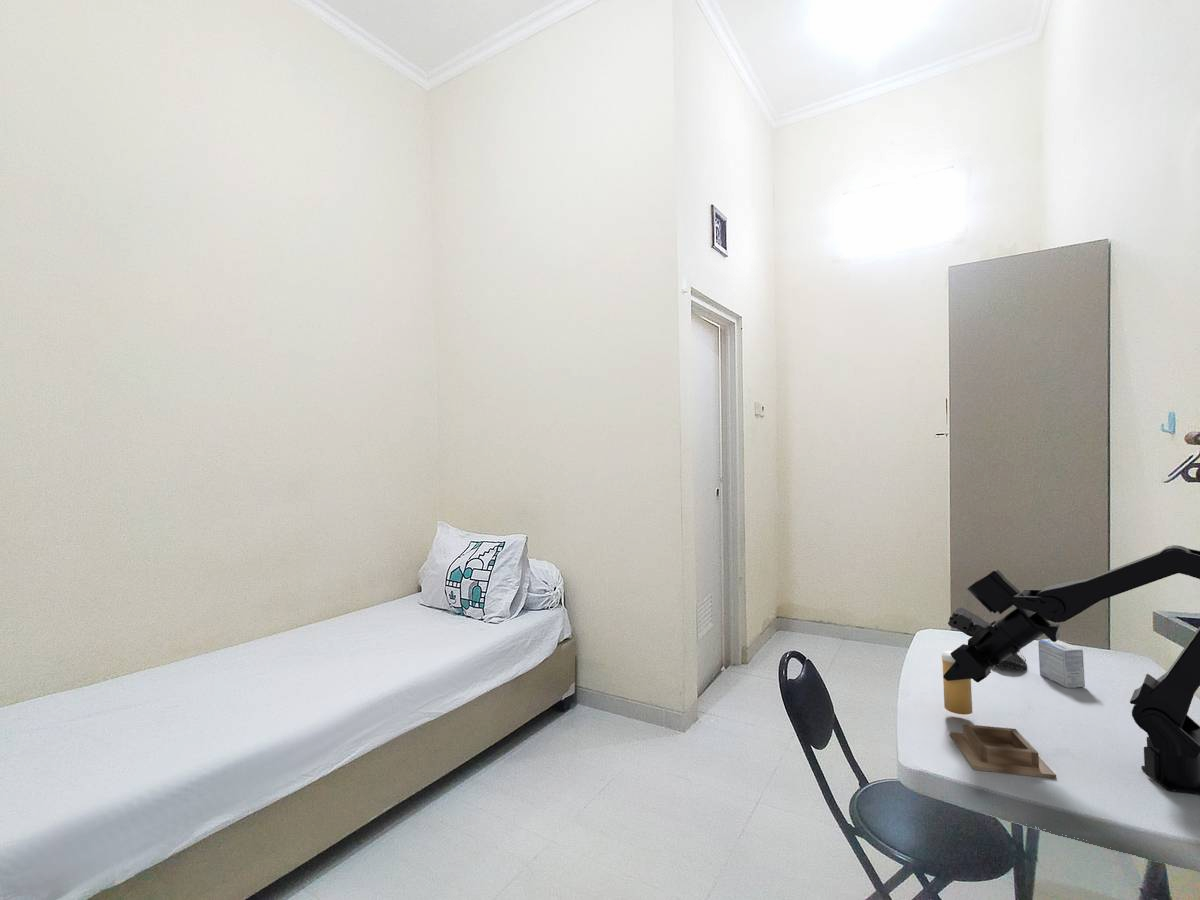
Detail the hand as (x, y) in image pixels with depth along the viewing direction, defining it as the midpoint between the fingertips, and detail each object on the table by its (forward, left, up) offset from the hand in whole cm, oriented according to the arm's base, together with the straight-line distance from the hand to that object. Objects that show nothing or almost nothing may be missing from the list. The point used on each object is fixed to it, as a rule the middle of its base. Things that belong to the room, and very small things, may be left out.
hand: (949, 674), depth 114 cm
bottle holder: (-3, +15, -8) cm, 17 cm away
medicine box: (-30, -24, -9) cm, 40 cm away
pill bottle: (-1, +1, -7) cm, 7 cm away
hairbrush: (-25, -39, -9) cm, 47 cm away
